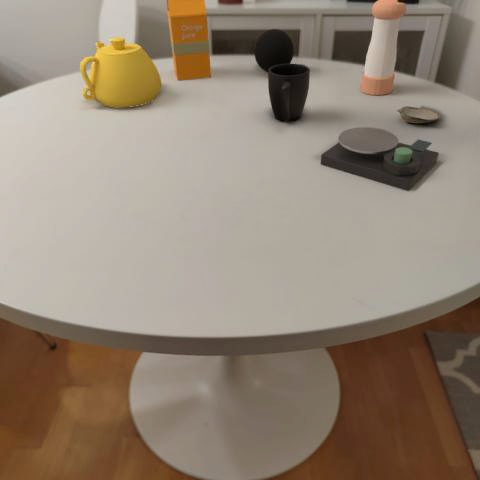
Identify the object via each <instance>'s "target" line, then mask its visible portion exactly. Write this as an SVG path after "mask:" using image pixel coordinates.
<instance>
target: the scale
mask: <svg viewBox="0 0 480 480" xmlns="http://www.w3.org/2000/svg"><path fill="white" fill-rule="evenodd" d="M411 145H412V144H411ZM411 145H410V144H406V143H402V142H398V146H397V147H396V148H395V149H394V150H392V151H389V152H386V153H380V154H365V153H358V152H354V151H351V150H348V149H346V148H344V147H343V146H342V145H341V144H340V143H339V142H337V143H336V144H335V145H332V147H330V148H329V149H327V150H326V151H324V152H323V153H322V154H320V155H321V156H320V166H321V165H322V166H324V167H327V168H330V169H334V170H338V171H341V172H344V173H348V174H351V175H354V176H358V177H359V178H364V179H367V180H371V181H374V182H377V183H380V184H383V185H388V186H390V187H393V188H397V189H399V190H403V191H407V192H408V191H409V190H411V189H412V188H413V187H414V186H415V185H416V184H417V183H418V182H419V180H420V179H422V178H423V176H424V175H426V174H427V173H428V172H429V171H430V170H431V169H432V168H433V167H434V166H435V165H436V164H437V162H438V158H439V154H440V153H439V152H438V151H433V150H430V149H426V150H424V151H423V152H419V151H415V150H412V156H411V161H410V163H406V164H402V163H397V162H395V161H394V155H395V150H396V149H397V148H400V147H405V148H409V147H410V146H411Z"/></svg>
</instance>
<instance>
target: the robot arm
mask: <svg viewBox="0 0 480 480" xmlns="http://www.w3.org/2000/svg"><path fill="white" fill-rule="evenodd" d="M397 1H398V2H399V3H405V4H412V5H413V4H415V3H417V2H419V1H420V0H397Z"/></svg>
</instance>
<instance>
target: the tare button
mask: <svg viewBox="0 0 480 480" xmlns="http://www.w3.org/2000/svg"><path fill="white" fill-rule="evenodd" d="M411 156H412V150H411V149H409V148H405V147H400V148H397V149H396V150H395V155H394V161H395V162H397V163H402V164H406V163H410V161H411Z"/></svg>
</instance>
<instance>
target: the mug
mask: <svg viewBox="0 0 480 480" xmlns="http://www.w3.org/2000/svg"><path fill="white" fill-rule="evenodd" d="M267 73H268V75H267V79H268V80H267V83H268V84H267V88H268V96H269V102H270V106H271V110H272V113H273V118H274V120H275V121H277V122H282V123H294V122H297V121H299V120H300V119H301V117H302V115H303V111H304V108H305V105H306V101H307V100H308V99H307V98H308V95H309V88H310V79H311V78H310V77H311V69H310V67H309V66H307V65H304V64H299V63H290V64H279V65H275V66H272V67H271V68H269V71H268V72H267Z"/></svg>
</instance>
